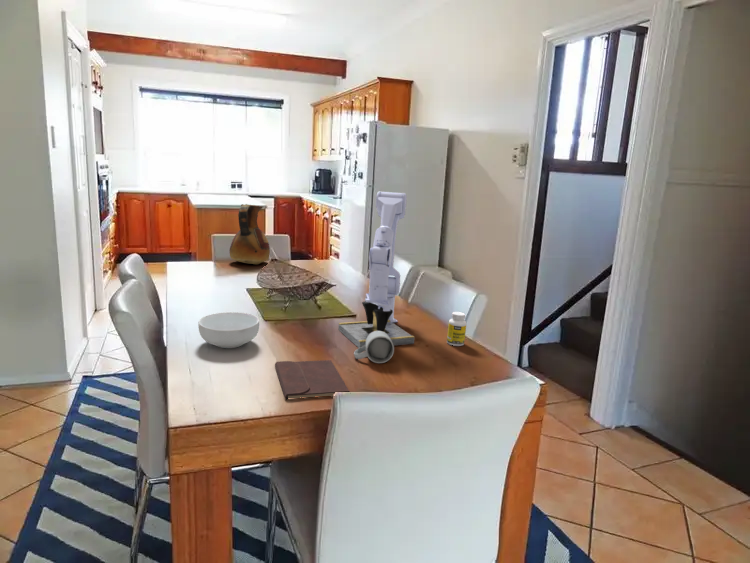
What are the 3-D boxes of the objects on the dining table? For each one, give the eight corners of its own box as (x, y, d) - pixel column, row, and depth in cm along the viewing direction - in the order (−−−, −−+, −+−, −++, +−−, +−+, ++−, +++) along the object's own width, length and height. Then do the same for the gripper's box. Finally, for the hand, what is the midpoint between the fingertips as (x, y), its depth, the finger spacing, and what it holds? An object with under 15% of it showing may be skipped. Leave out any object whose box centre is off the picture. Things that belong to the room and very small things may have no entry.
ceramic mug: (389, 353, 150) (390, 327, 148) (393, 363, 142) (395, 336, 140) (352, 353, 149) (353, 327, 147) (354, 363, 141) (355, 336, 139)
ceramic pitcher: (274, 261, 274) (276, 204, 268) (261, 268, 255) (262, 206, 248) (239, 258, 277) (239, 201, 270) (223, 265, 257) (223, 203, 251)
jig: (338, 329, 168) (338, 323, 168) (388, 326, 175) (389, 319, 175) (359, 348, 152) (359, 341, 152) (413, 343, 159) (414, 336, 159)
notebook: (331, 365, 139) (332, 358, 139) (350, 397, 121) (350, 389, 121) (274, 368, 135) (275, 361, 135) (285, 402, 117) (285, 393, 116)
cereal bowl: (197, 335, 154) (197, 312, 153) (254, 332, 160) (254, 310, 159) (200, 356, 139) (199, 330, 137) (263, 352, 145) (263, 327, 143)
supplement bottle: (450, 346, 159) (454, 316, 157) (443, 341, 164) (446, 311, 162) (467, 346, 160) (470, 315, 158) (459, 340, 165) (462, 310, 163)
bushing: (368, 334, 165) (370, 310, 163) (381, 333, 167) (383, 309, 165) (374, 339, 161) (376, 314, 159) (388, 338, 163) (390, 313, 161)
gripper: (357, 280, 165) (355, 321, 168) (376, 291, 152) (373, 335, 155) (378, 279, 168) (375, 320, 171) (397, 290, 155) (394, 333, 158)
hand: (375, 327), depth 163 cm, fingers open, 7 cm apart
